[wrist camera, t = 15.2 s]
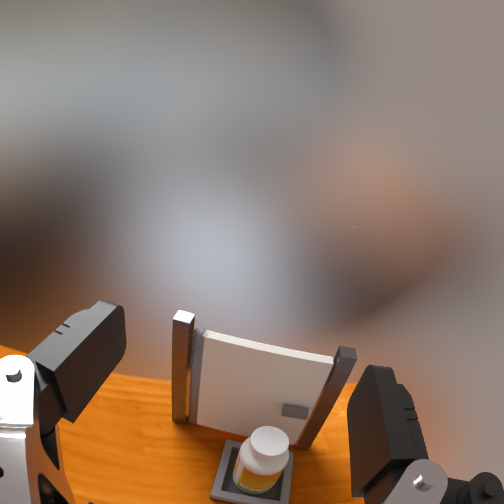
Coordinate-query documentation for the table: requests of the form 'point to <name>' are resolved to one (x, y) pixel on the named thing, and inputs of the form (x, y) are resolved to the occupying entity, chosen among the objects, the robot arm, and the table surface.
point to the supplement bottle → (261, 460)
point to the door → (253, 384)
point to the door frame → (182, 372)
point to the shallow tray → (227, 491)
